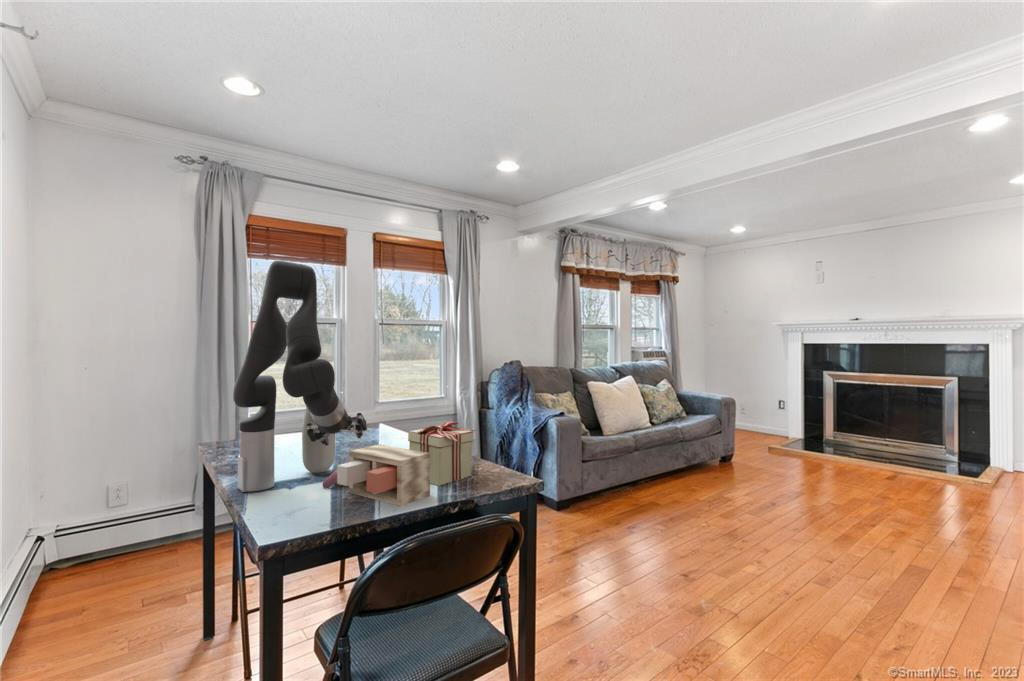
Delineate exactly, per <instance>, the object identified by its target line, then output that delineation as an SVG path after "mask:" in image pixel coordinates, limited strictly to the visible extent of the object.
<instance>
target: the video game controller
mask: <svg viewBox="0 0 1024 681" xmlns="http://www.w3.org/2000/svg"><path fill="white" fill-rule="evenodd" d="M334 485H335V486H336V487H339V486H340V485H341V484H337V468H336V469H335V470H334V471H333V472H332V473H331V474H330V475H328V477H327V478H326V479H324V480H323V482H322V488H324V489H326V488H331V487H332V486H334Z"/></svg>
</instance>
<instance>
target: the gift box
mask: <svg viewBox="0 0 1024 681" xmlns="http://www.w3.org/2000/svg"><path fill="white" fill-rule="evenodd" d="M453 425H459V422H455V421H446V422H443V423H441V425H438V426H436V425H430V426H428V427H426V428H420V429H415V430H409V431H408V435H407V437H408V438H407V441H408V442H409V446H408V447H409V448H408V449H409V450H415V451H421V452H427V453H430V483H431V484H430V485H435V486H437V485H438V487H441V485H442V486H444V484H445V485H447V484H446V483H448V484H450V483H449V482H452V483H454V482H453V481H455V480H458V481H460V480H459V479H461V478H464V477H467V476H471V477H472V451H473V450H472V448H473V447H472V446H473V441H474V432H477V429H476V430H475V429H470V428H465V427H464V428H463V427H455V426H453ZM461 480H462V479H461ZM455 482H456V481H455Z"/></svg>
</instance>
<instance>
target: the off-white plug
mask: <svg viewBox="0 0 1024 681" xmlns="http://www.w3.org/2000/svg"><path fill="white" fill-rule="evenodd" d="M336 469H337V484H340V485H341V486H345V487H346V486H347V487H349V485H352V484H355V483H358V482H362V481H365V480H367V472H368V471H370V461H366V460H357V461H353V462H345V463H342V464H337V466H336Z"/></svg>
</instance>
